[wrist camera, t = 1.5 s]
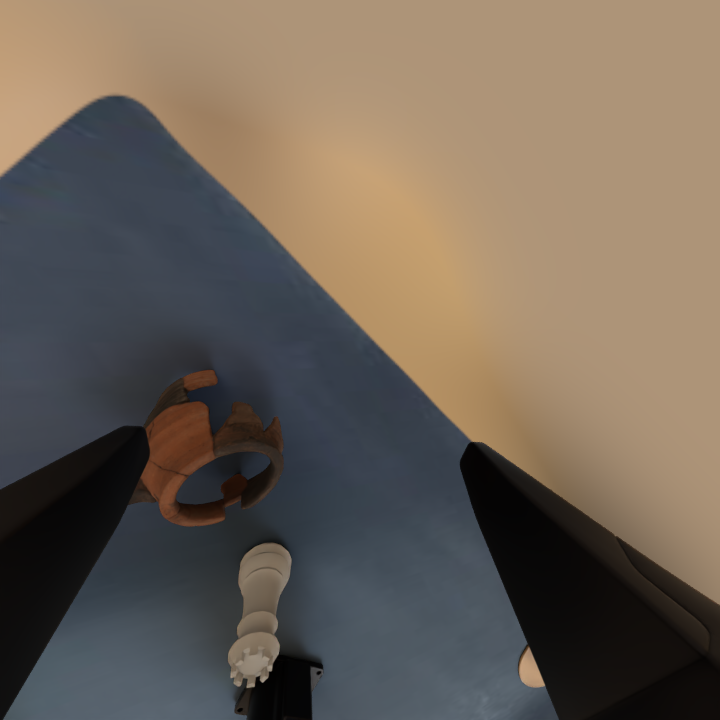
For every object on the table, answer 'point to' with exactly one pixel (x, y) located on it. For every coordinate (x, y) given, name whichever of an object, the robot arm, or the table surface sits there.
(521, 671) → the cork coaster
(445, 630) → the table surface
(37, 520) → the robot arm
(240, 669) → the rook chess piece
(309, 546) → the table surface
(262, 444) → the brown curved piece
